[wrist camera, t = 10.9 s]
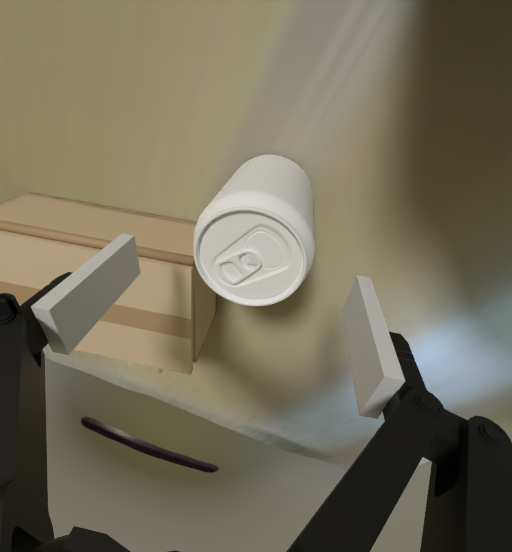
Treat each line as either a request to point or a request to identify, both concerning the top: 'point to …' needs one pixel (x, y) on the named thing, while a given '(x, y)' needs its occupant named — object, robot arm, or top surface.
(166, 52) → the top surface
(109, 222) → the carton
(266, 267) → the beverage can
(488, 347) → the top surface
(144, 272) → the lid
